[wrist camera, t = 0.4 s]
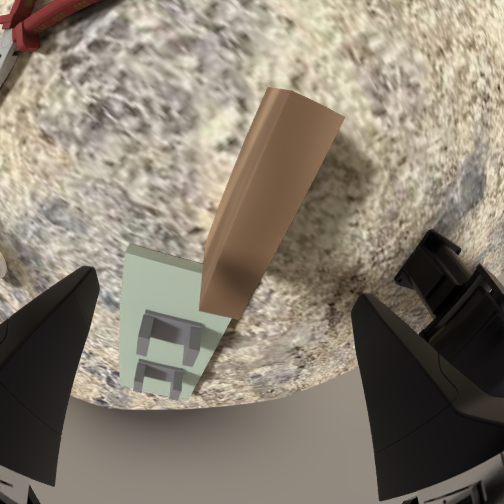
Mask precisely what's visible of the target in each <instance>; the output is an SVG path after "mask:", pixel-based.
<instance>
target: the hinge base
mask: <svg viewBox="0 0 504 504" xmlns="http://www.w3.org/2000/svg"><path fill="white" fill-rule="evenodd" d="M202 271H203V264H201V263H197V262H194V261H190V260H186V259H183V258H179V257H175V256H172V255H168V254H165V253H161V252H157V251H154V250H150V249H147V248H143V247H140V246H136V245H133V244H129V246H128V248H127V250H126V252H125V259H124V268H123V278H122V290H121V306H120V330H119V369H120V385H122V386H126V387H130V388H134V389H133V391H136V392H140V393H142V391H146V392H150V393H155V394H159V395H164V396H169V399H172V400H178V398H179V399H185V400H188V399H189V397H190V396H191V394H192V392H193V390H194V388H195V386H196V384H197V383H198V381H199V379H200V377H201V375H202V373H203V371H204V370H205V368H206V366H207V364H208V362H209V360H210V358H211V357H212V355H213V353H214V351H215V349H216V347H217V345H218V343H219V341H220V340H221V338H222V336H223V334H224V332H225V330H226V328H227V326H228V324H229V323H230V321H231V319H232V318H228V317H223V316H219V315H214V314H210V313H205V312H201V311H199V301H200V291H201V281H202Z"/></svg>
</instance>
